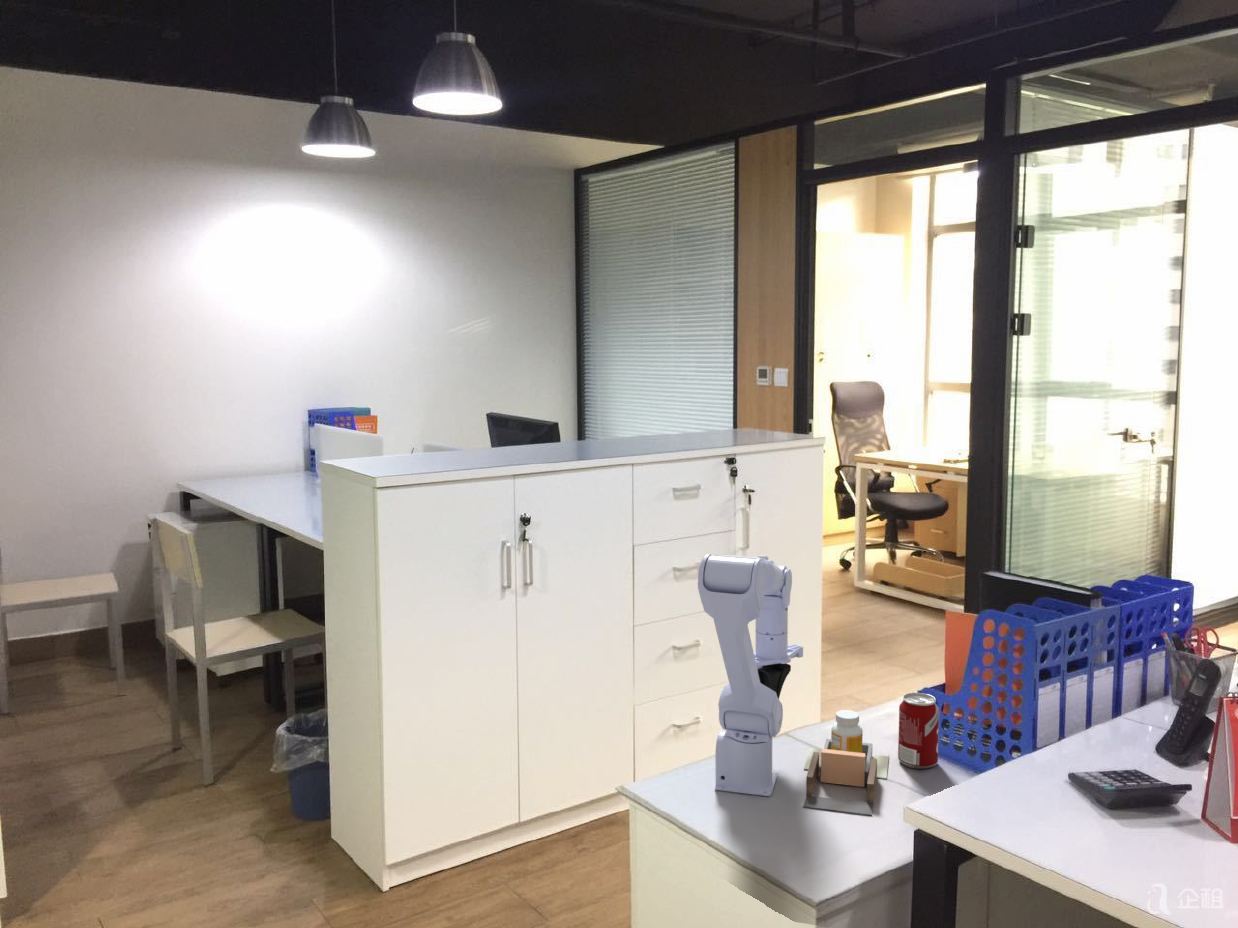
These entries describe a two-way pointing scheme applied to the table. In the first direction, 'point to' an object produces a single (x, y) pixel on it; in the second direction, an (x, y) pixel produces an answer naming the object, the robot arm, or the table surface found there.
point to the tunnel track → (812, 765)
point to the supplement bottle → (847, 732)
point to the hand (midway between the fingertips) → (771, 702)
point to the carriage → (845, 765)
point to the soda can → (918, 731)
